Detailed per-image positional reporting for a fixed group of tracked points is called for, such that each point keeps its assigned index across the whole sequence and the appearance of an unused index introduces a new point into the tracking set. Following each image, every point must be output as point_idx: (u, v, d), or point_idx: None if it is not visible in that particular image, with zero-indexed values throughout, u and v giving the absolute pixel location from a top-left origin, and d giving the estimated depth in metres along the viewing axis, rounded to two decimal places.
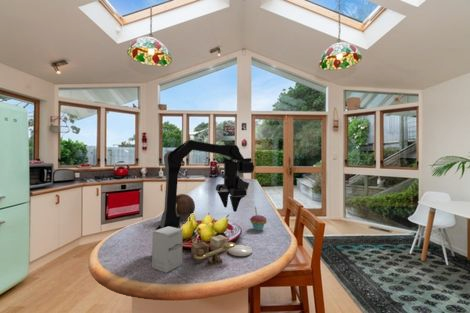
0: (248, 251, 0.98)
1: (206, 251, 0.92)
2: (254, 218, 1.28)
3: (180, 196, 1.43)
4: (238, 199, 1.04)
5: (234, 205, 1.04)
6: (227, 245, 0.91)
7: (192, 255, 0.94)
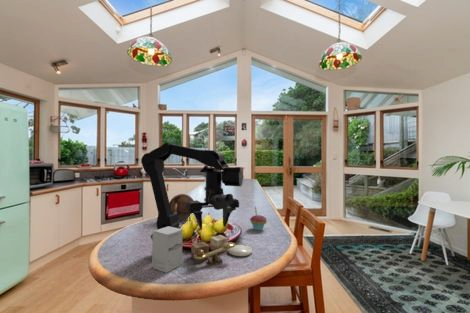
0: (248, 251, 0.98)
1: (206, 251, 0.92)
2: (254, 218, 1.28)
3: (180, 196, 1.43)
4: None
5: (197, 221, 0.89)
6: (227, 245, 0.91)
7: (192, 255, 0.94)
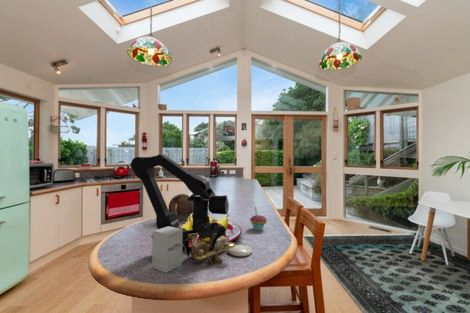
0: (248, 251, 0.98)
1: (206, 251, 0.92)
2: (254, 218, 1.28)
3: (180, 196, 1.43)
4: None
5: (185, 249, 0.92)
6: (227, 245, 0.91)
7: (192, 255, 0.94)
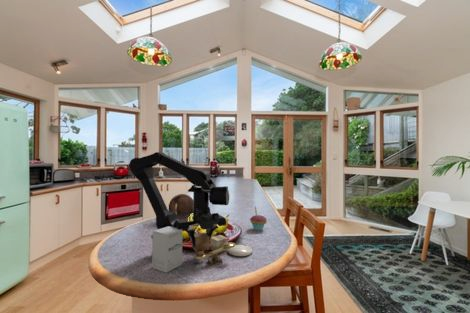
0: (248, 251, 0.98)
1: (207, 241, 0.92)
2: (254, 218, 1.28)
3: (180, 196, 1.43)
4: None
5: (190, 239, 0.93)
6: (227, 245, 0.91)
7: None
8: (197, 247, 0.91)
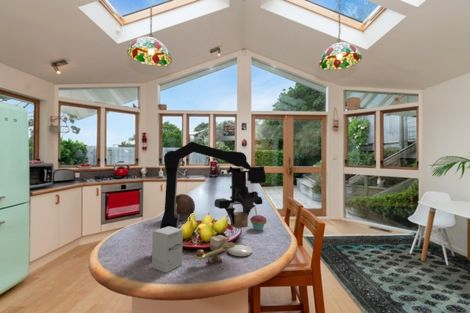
0: (248, 251, 0.98)
1: (245, 219, 0.97)
2: (254, 218, 1.28)
3: (180, 196, 1.43)
4: None
5: (229, 217, 0.98)
6: (227, 245, 0.91)
7: None
8: (237, 224, 0.96)
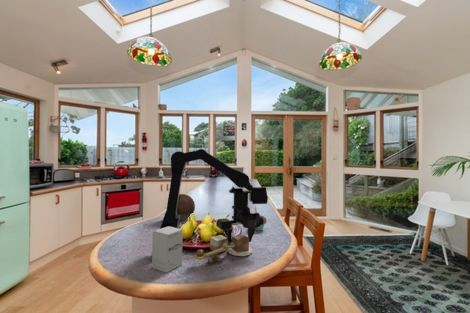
0: (248, 251, 0.98)
1: (247, 243, 0.98)
2: None
3: (180, 196, 1.43)
4: None
5: (227, 238, 0.98)
6: (227, 245, 0.91)
7: (233, 247, 0.99)
8: (238, 248, 0.96)
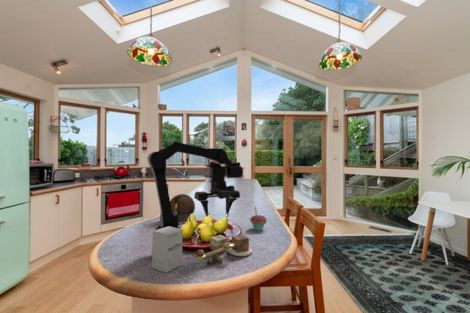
0: (248, 251, 0.98)
1: (247, 243, 0.98)
2: (254, 218, 1.28)
3: (180, 196, 1.43)
4: None
5: (204, 209, 1.04)
6: (227, 245, 0.91)
7: (233, 247, 0.99)
8: (238, 248, 0.96)
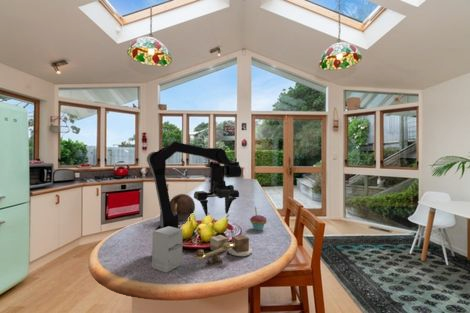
0: (248, 251, 0.98)
1: (247, 243, 0.98)
2: (254, 218, 1.28)
3: (180, 196, 1.43)
4: None
5: (203, 209, 1.05)
6: (227, 245, 0.91)
7: (233, 247, 0.99)
8: (238, 248, 0.96)
